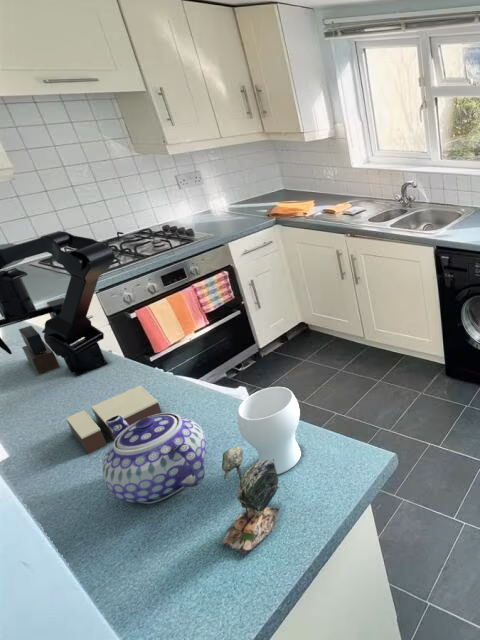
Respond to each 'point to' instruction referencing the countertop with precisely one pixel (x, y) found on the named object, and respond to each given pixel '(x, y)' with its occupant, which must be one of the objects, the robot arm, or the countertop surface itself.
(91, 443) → the cream-topped brown block
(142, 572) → the countertop surface
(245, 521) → the bird figurine
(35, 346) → the black handle
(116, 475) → the teapot
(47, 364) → the knife block
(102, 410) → the cake loaf
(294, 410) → the cup
